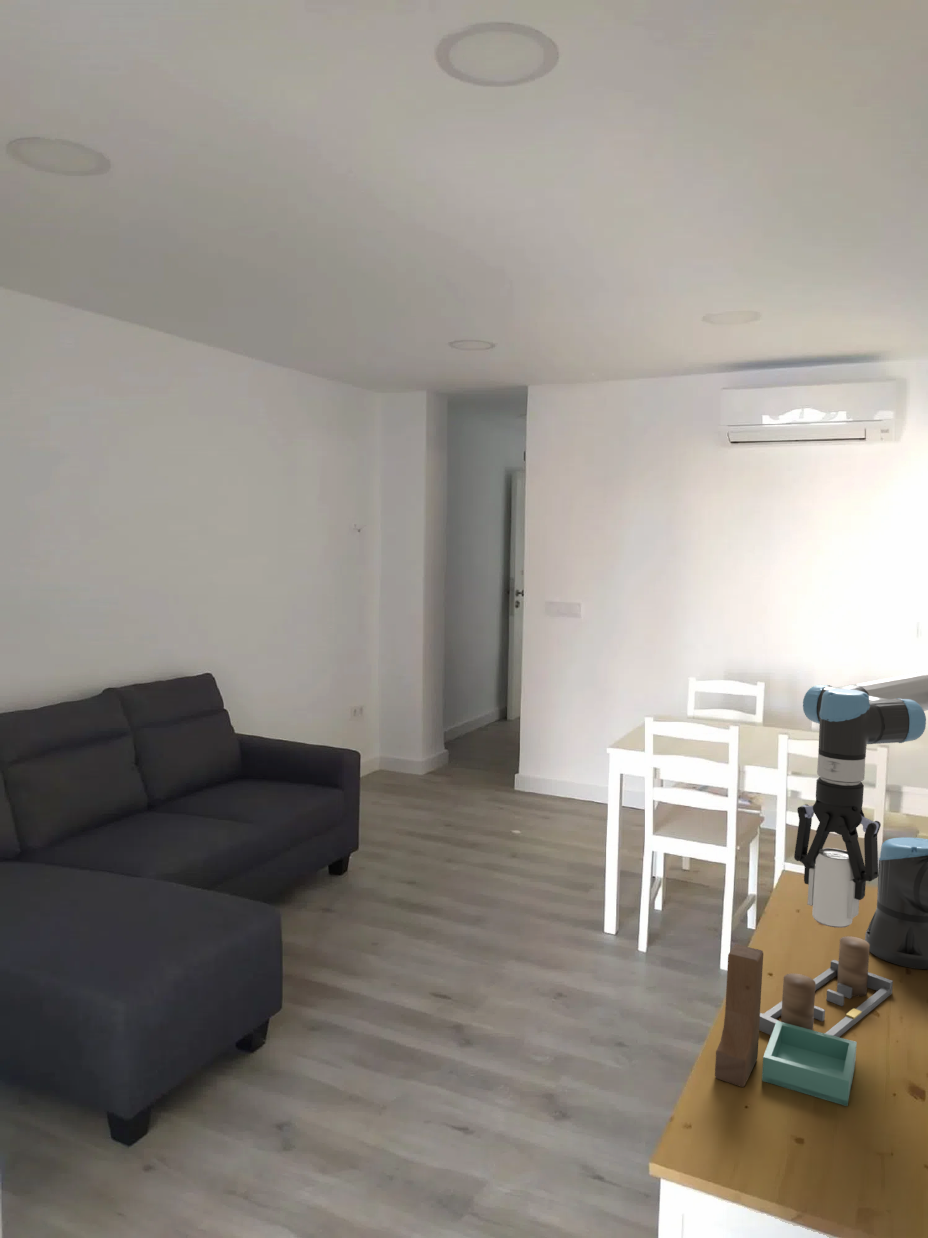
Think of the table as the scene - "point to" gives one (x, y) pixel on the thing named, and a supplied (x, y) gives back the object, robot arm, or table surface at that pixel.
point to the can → (832, 887)
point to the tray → (810, 1062)
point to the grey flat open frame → (836, 1002)
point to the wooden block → (740, 1016)
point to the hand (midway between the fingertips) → (832, 909)
